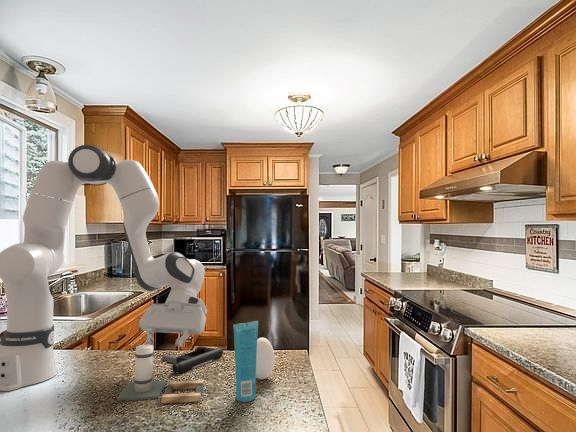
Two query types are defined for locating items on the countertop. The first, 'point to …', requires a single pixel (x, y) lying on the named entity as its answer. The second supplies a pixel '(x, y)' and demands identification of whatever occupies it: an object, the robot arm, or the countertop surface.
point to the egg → (264, 358)
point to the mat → (130, 394)
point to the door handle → (193, 358)
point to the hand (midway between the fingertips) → (163, 344)
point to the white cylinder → (143, 368)
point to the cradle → (185, 397)
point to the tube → (245, 359)
